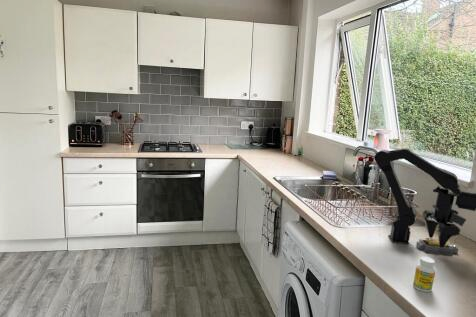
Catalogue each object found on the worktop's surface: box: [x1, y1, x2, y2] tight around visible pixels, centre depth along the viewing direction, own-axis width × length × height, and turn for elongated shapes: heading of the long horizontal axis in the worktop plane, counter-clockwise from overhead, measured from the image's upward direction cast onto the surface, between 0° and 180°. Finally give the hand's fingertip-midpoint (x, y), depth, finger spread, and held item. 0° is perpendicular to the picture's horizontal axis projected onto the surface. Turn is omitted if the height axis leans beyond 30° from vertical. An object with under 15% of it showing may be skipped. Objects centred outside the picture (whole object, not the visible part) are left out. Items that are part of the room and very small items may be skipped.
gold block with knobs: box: [424, 237, 448, 247], centre depth 143 cm, size 7×4×5 cm, turn 85°
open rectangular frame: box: [415, 238, 459, 256], centre depth 143 cm, size 15×6×3 cm, turn 86°
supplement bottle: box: [412, 256, 436, 293], centre depth 112 cm, size 5×5×10 cm
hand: (436, 242), depth 143 cm, fingers open, 9 cm apart
